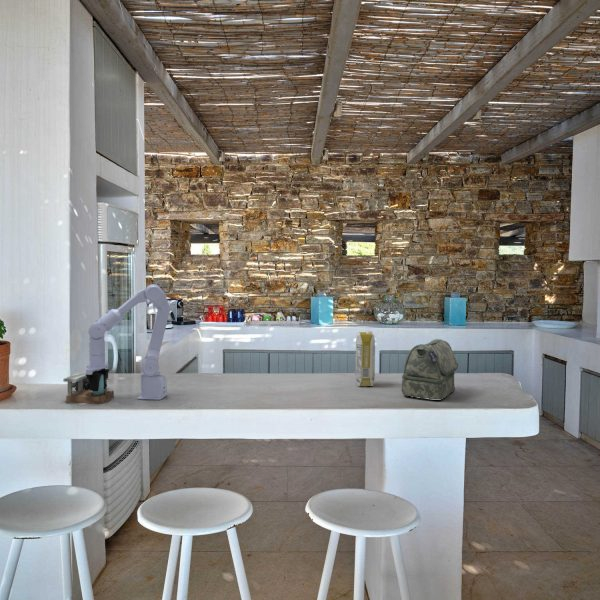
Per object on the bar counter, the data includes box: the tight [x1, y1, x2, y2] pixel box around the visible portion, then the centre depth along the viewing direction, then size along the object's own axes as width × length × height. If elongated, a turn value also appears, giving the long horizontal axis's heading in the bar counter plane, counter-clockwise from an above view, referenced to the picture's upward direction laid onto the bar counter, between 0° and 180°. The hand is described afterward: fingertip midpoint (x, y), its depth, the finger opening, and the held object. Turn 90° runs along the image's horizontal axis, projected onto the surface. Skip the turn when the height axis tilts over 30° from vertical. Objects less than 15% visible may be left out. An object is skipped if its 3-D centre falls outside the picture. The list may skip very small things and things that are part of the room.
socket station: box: [63, 373, 115, 405], centre depth 212 cm, size 16×10×9 cm, turn 85°
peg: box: [93, 374, 105, 395], centre depth 211 cm, size 4×4×8 cm
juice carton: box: [354, 330, 376, 387], centre depth 241 cm, size 9×8×24 cm
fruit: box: [72, 373, 110, 392], centre depth 227 cm, size 9×8×15 cm
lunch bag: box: [401, 338, 459, 399], centre depth 226 cm, size 26×18×22 cm
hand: (97, 389), depth 211 cm, fingers closed on peg, 4 cm apart
